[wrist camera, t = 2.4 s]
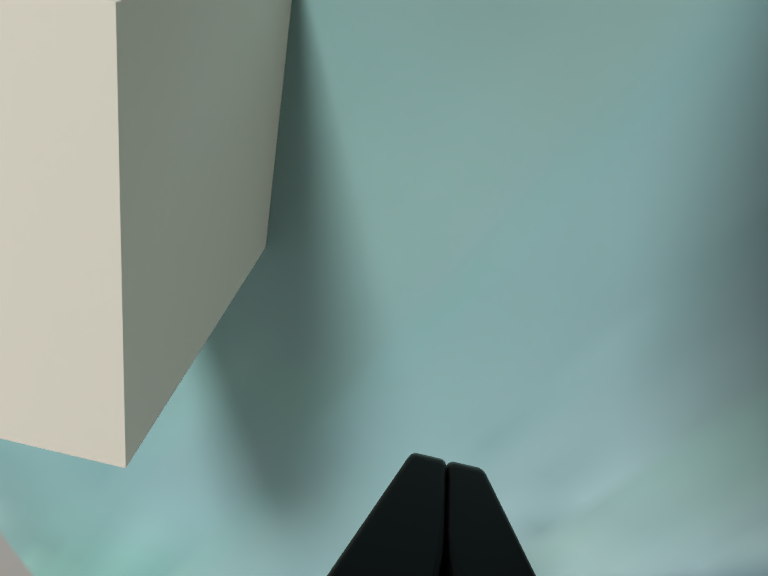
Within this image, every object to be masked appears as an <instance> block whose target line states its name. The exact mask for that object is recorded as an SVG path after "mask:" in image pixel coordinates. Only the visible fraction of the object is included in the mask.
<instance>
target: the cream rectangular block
mask: <svg viewBox="0 0 768 576" xmlns="http://www.w3.org/2000/svg"><path fill="white" fill-rule="evenodd" d="M291 3H292V0H0V438H1V439H5V440H9V441H13V442H18V443H22V444H26V445H30V446H35V447H39V448H43V449H47V450H51V451H56V452H60V453H64V454H68V455H73V456H77V457H81V458H85V459H89V460H94V461H98V462H102V463H106V464H110V465H115V466H119V467H123V468H126V467H127V465H128V464H129V462H130V460H131V459H132V457H133V456H134V454H135V453H136V451H137V449H138V448H139V446H140V445H141V443H142V442H143V440H144V438H145V437H146V435H147V434H148V432H149V431H150V429H151V427H152V426H153V424H154V423H155V421H156V420H157V418H158V416H159V415H160V413H161V412H162V410H163V408H164V407H165V405H166V404H167V402H168V401H169V399H170V397H171V396H172V394H173V393H174V391H175V390H176V388H177V386H178V385H179V383H180V382H181V380H182V379H183V377H184V375H185V374H186V372H187V371H188V369H189V368H190V366H191V364H192V363H193V361H194V360H195V358H196V356H197V355H198V353H199V352H200V350H201V349H202V347H203V345H204V344H205V342H206V341H207V339H208V338H209V336H210V334H211V333H212V331H213V330H214V328H215V327H216V325H217V323H218V322H219V320H220V319H221V317H222V315H223V314H224V312H225V311H226V309H227V308H228V306H229V304H230V303H231V301H232V300H233V298H234V297H235V295H236V293H237V292H238V290H239V289H240V287H241V286H242V284H243V282H244V281H245V279H246V278H247V276H248V275H249V273H250V271H251V270H252V268H253V267H254V265H255V263H256V262H257V260H258V259H259V257H260V256H261V254H262V252H263V251H264V249H265V248H266V239H267V230H268V220H269V211H270V201H271V192H272V183H273V173H274V164H275V154H276V145H277V135H278V126H279V117H280V107H281V98H282V88H283V79H284V69H285V60H286V51H287V41H288V32H289V22H290V13H291Z"/></svg>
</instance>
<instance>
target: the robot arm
mask: <svg viewBox="0 0 768 576" xmlns="http://www.w3.org/2000/svg"><path fill="white" fill-rule="evenodd" d="M327 576H536V575H535V573H534V571H533V569H532V567H531V565H530V563H529V561H528V559H527V557H526V555H525V553H524V551H523V549H522V547H521V545H520V543H519V541H518V539H517V537H516V535H515V533H514V531H513V529H512V526H511V524H510V522H509V520H508V518H507V516H506V514H505V512H504V510H503V508H502V506H501V504H500V502H499V500H498V498H497V496H496V494H495V492H494V490H493V488H492V486H491V484H490V482H489V480H488V478H487V476H486V474H485V472H484V471H483V470H482V469H480V468H477V467H473V466H469V465H465V464H461V463H456V462H450V463H448V464H447V465H446V464H445V461H444V460H442V459H439V458H435V457H431V456H427V455H422V454H418V453H413V454H411V455H410V456H409V457H408V458H407V460H406V461H405V463H404V464H403V466H402V467H401V469H400V470H399V472H398V473H397V474H396V476H395V477H394V479H393V480H392V482H391V483H390V485H389V486H388V488H387V489H386V490H385V492H384V493H383V495H382V496H381V498H380V499H379V501H378V502H377V504H376V505H375V507H374V508H373V509H372V511H371V512H370V514H369V515H368V517H367V518H366V520H365V521H364V523H363V524H362V525H361V527H360V528H359V530H358V531H357V533H356V534H355V536H354V537H353V539H352V540H351V542H350V543H349V544H348V546H347V547H346V549H345V550H344V552H343V553H342V555H341V556H340V558H339V559H338V560H337V562H336V563H335V565H334V566H333V568H332V569H331V571H330V572H329V574H328V575H327Z"/></svg>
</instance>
